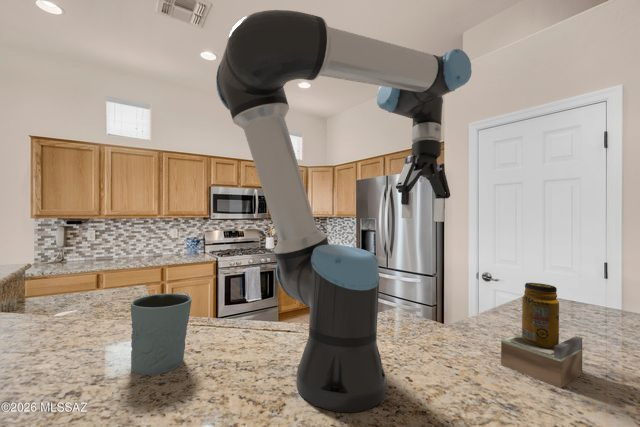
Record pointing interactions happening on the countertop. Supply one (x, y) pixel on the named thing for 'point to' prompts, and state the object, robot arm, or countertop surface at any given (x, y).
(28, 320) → the countertop surface
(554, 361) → the stand
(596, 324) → the countertop surface
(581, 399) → the countertop surface
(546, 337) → the condiment
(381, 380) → the robot arm
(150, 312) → the grey textured cup
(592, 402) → the countertop surface
